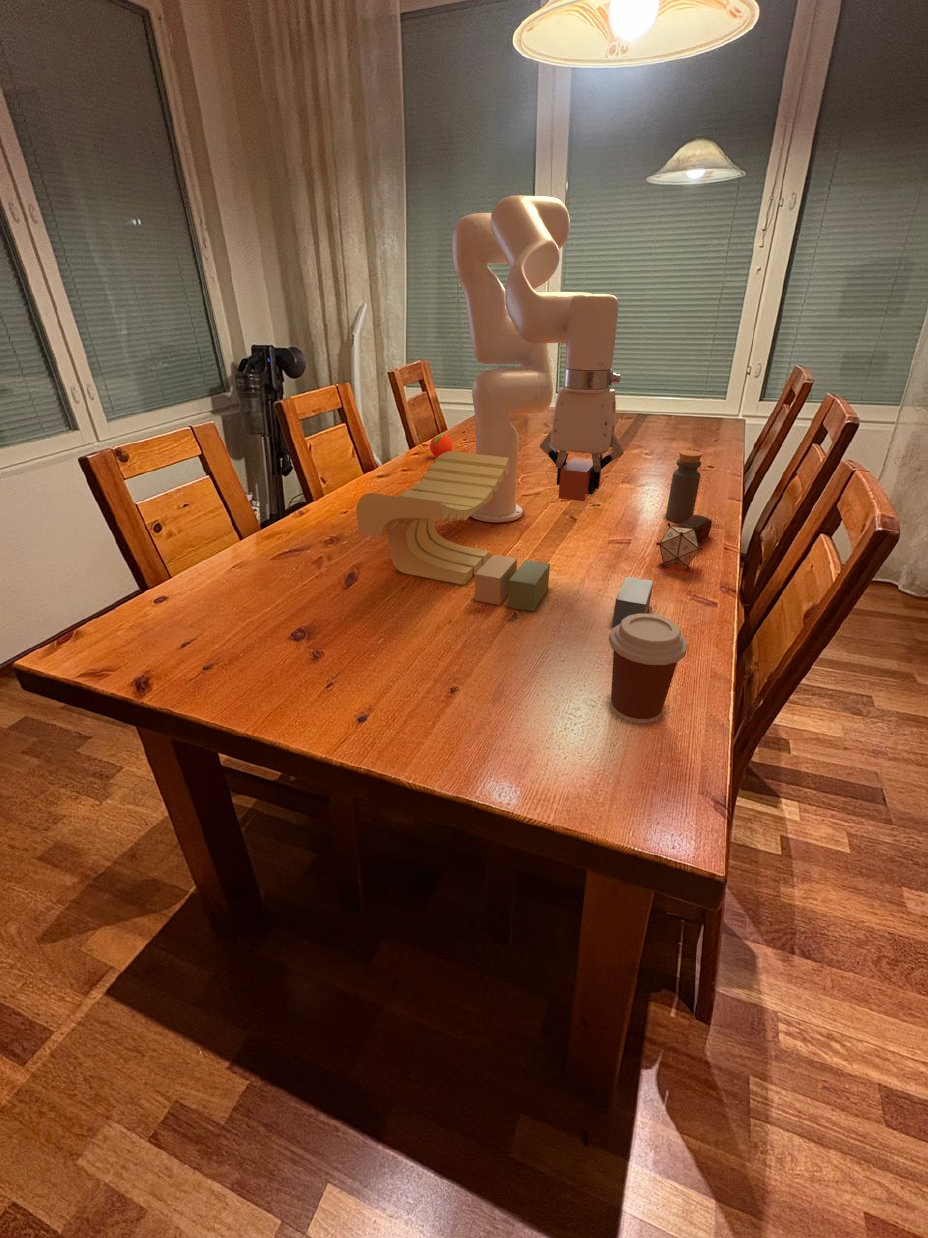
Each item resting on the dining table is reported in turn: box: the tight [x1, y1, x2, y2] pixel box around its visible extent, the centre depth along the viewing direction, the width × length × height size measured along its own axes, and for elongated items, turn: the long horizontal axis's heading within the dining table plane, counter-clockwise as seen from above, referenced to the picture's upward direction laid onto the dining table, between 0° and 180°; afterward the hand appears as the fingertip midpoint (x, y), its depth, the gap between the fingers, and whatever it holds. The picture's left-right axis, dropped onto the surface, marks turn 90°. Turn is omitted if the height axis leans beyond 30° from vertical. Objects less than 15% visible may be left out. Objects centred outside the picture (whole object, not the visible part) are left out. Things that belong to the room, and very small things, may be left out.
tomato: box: [429, 434, 453, 458], centre depth 184 cm, size 8×7×7 cm
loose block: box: [557, 456, 593, 502], centre depth 105 cm, size 4×9×5 cm, turn 158°
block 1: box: [474, 554, 518, 606], centre depth 105 cm, size 4×9×5 cm, turn 157°
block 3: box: [611, 576, 654, 628], centre depth 97 cm, size 4×9×5 cm, turn 157°
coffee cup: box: [608, 613, 688, 724], centre depth 75 cm, size 9×9×12 cm
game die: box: [655, 522, 704, 571], centre depth 114 cm, size 9×8×10 cm
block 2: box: [507, 559, 551, 612], centre depth 103 cm, size 4×9×5 cm, turn 157°
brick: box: [676, 514, 713, 545], centre depth 126 cm, size 11×4×5 cm, turn 141°
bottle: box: [665, 450, 703, 523], centre depth 136 cm, size 6×6×15 cm
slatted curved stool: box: [355, 450, 509, 586], centre depth 112 cm, size 30×16×18 cm, turn 156°
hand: (577, 489), depth 106 cm, fingers closed on loose block, 4 cm apart
